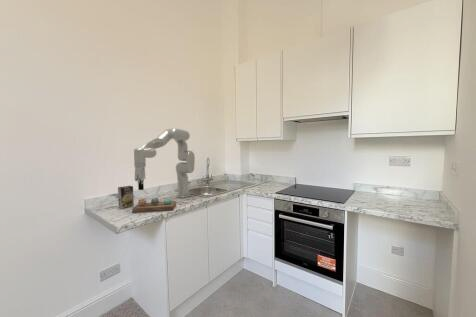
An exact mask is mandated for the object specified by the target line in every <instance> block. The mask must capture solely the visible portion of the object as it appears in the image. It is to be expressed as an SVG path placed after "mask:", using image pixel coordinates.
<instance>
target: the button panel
mask: <svg viewBox="0 0 476 317" xmlns="http://www.w3.org/2000/svg"><path fill="white" fill-rule="evenodd" d="M176 202H177V201H176V200H175V201H173V200H171V204H169V205H164V201H162V202H161V201H160V202H159V203H157V204H151V202H146V204H143V205H139V203H137V204H136V205H134V206H133V208H132V209H131V212H132V214H140V213H141V214H142V213H143V214H144V213H154V212H169V211H172V212H173V211H174V209H175V208H176V206H177V203H176Z"/></svg>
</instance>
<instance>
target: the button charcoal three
mask: <svg viewBox="0 0 476 317" xmlns="http://www.w3.org/2000/svg"><path fill="white" fill-rule="evenodd" d="M150 203H151V204H157V203H159V198H158V197H156V198H151V199H150Z"/></svg>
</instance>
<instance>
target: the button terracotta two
mask: <svg viewBox="0 0 476 317" xmlns="http://www.w3.org/2000/svg"><path fill="white" fill-rule="evenodd" d="M146 203H147V200H146V198H140V199H138V204H139V205H143V204H146Z"/></svg>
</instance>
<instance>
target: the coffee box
mask: <svg viewBox="0 0 476 317" xmlns="http://www.w3.org/2000/svg"><path fill="white" fill-rule="evenodd" d="M117 197H118V200H117V201H118V208H119V209H121V210H124V209H128V208H132V207H133V208H134V207H135V203H134V202H135V201H134V200H135V198H134V186H133V185H126V186H125V185H124V186H118V187H117Z"/></svg>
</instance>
